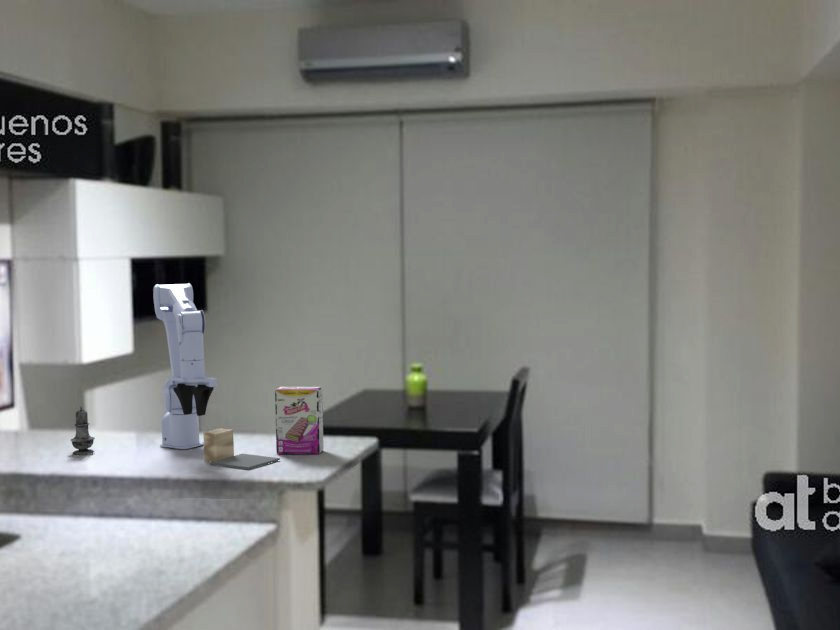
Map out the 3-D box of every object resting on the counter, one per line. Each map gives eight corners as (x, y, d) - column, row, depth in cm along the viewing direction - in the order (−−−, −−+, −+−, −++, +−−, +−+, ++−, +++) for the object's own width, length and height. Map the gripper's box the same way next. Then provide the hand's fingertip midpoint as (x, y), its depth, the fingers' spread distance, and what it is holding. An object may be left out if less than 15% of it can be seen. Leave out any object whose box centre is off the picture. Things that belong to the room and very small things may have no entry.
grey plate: (210, 464, 224) (210, 462, 224) (242, 455, 233) (242, 453, 233) (248, 469, 218) (248, 467, 218) (279, 460, 227) (279, 458, 227)
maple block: (204, 461, 229) (203, 432, 228) (222, 456, 234) (221, 428, 233) (216, 462, 226) (215, 433, 226) (234, 458, 231) (233, 429, 231)
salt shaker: (99, 452, 242) (97, 405, 241) (77, 456, 238) (75, 408, 237) (88, 449, 246) (86, 403, 245) (66, 453, 242) (64, 406, 241)
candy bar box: (275, 454, 234) (273, 389, 233) (280, 450, 239) (278, 386, 238) (320, 454, 233) (318, 388, 232) (324, 450, 238) (322, 385, 237)
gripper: (159, 360, 233) (161, 415, 234) (201, 362, 225) (203, 418, 226) (180, 358, 239) (182, 411, 240) (222, 359, 231) (224, 414, 232)
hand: (194, 414), depth 233 cm, fingers open, 4 cm apart
